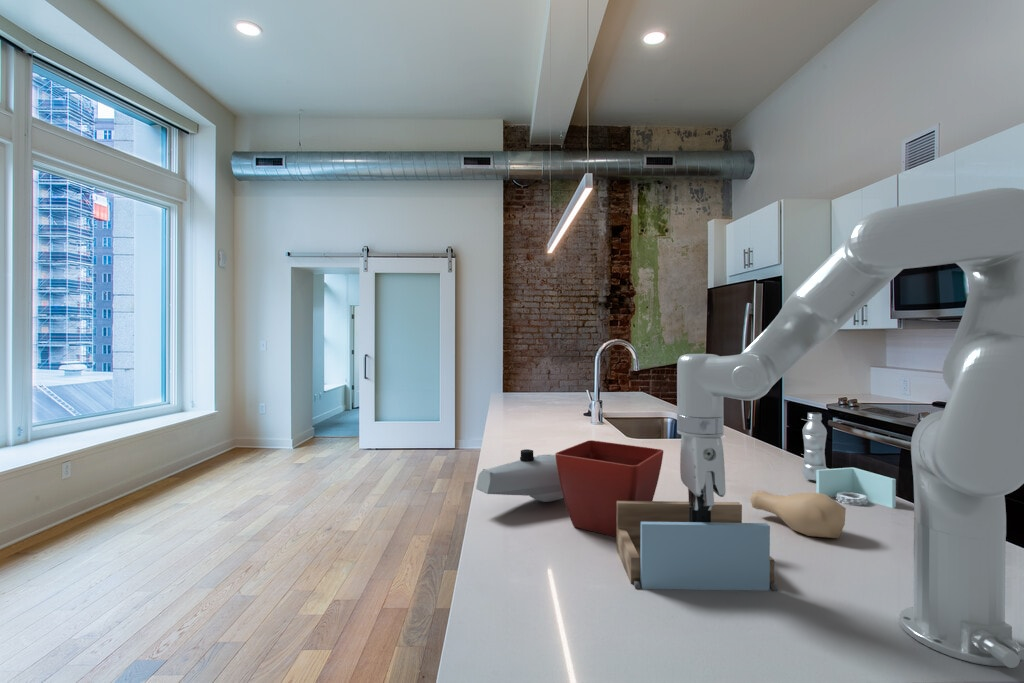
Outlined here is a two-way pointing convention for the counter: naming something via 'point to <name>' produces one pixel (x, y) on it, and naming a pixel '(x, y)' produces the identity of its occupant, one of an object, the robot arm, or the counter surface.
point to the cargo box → (662, 511)
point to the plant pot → (605, 481)
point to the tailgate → (705, 556)
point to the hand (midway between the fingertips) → (699, 531)
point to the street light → (524, 478)
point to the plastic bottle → (814, 446)
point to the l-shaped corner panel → (856, 486)
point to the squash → (804, 512)
